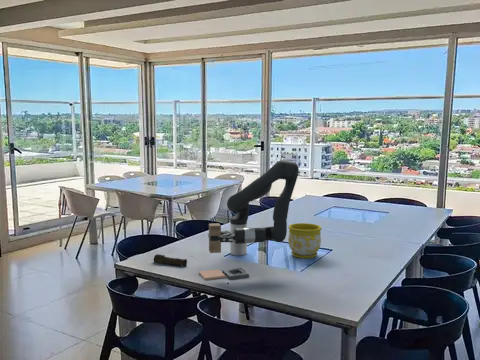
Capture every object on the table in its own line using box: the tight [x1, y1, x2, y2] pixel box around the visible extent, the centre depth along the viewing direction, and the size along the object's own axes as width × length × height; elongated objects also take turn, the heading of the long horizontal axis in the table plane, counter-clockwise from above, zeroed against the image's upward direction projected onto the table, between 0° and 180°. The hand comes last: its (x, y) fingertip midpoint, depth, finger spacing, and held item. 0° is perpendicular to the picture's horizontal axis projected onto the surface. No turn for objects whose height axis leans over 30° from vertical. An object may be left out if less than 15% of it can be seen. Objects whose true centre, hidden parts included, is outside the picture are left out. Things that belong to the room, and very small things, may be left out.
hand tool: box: [153, 254, 188, 268], centre depth 235 cm, size 19×4×5 cm, turn 66°
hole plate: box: [221, 267, 250, 280], centre depth 219 cm, size 10×10×2 cm
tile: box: [198, 268, 226, 281], centre depth 218 cm, size 10×10×1 cm
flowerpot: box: [287, 222, 322, 259], centre depth 252 cm, size 18×18×16 cm
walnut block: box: [208, 222, 222, 254], centre depth 215 cm, size 5×5×13 cm
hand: (209, 237), depth 215 cm, fingers closed on walnut block, 5 cm apart
